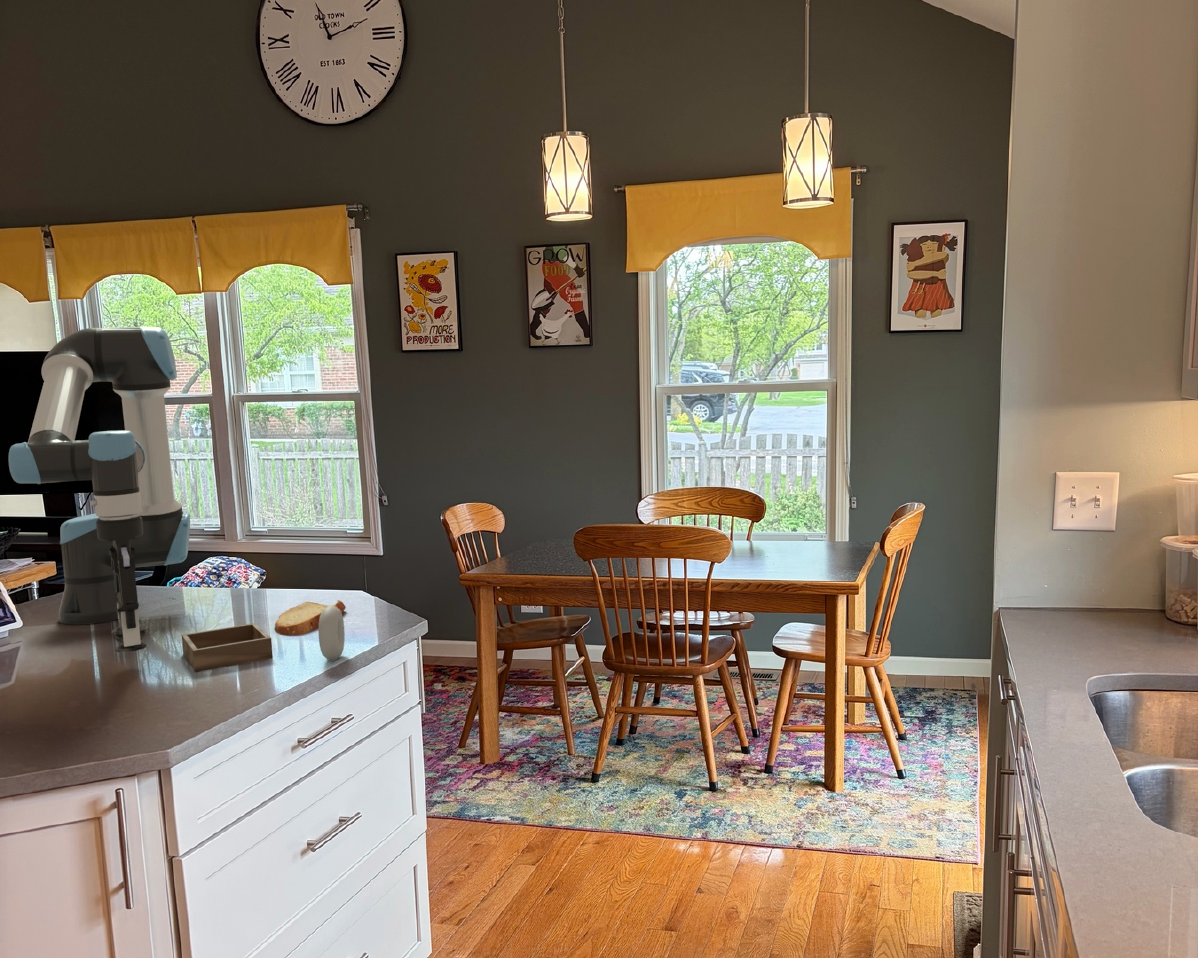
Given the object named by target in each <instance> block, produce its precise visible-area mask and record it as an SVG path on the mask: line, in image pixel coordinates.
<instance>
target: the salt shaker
mask: <svg viewBox="0 0 1198 958" xmlns="http://www.w3.org/2000/svg"><path fill="white" fill-rule="evenodd" d="M117 597H118V607H119V608H118V609H120V608H121V607H122V606H121V598H120V591H119V592H118V594H117ZM128 603H130V602H128ZM137 609H138V610H139V607H138V608H137ZM116 611H117V610H116ZM147 628H148V626H147V625H143V624H141V623H139V629H140V640H141V644H139V645H133V646H126V647H124V641H123V630H122V620H121V612H119V620H118V625H117V627H116V628H114V629H112V630H111V634H112V635H113V638H114V640H115V641H116V642H117V643H119V644H120V645H118V646H117V647H116V648H115V649H114V652H116V653H132V652H138V651H140V650H144V649H146V648H147V646H148V644H146V643H145V642H142V640H143V639H144V637H145V634H146V630H147Z"/></svg>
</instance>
